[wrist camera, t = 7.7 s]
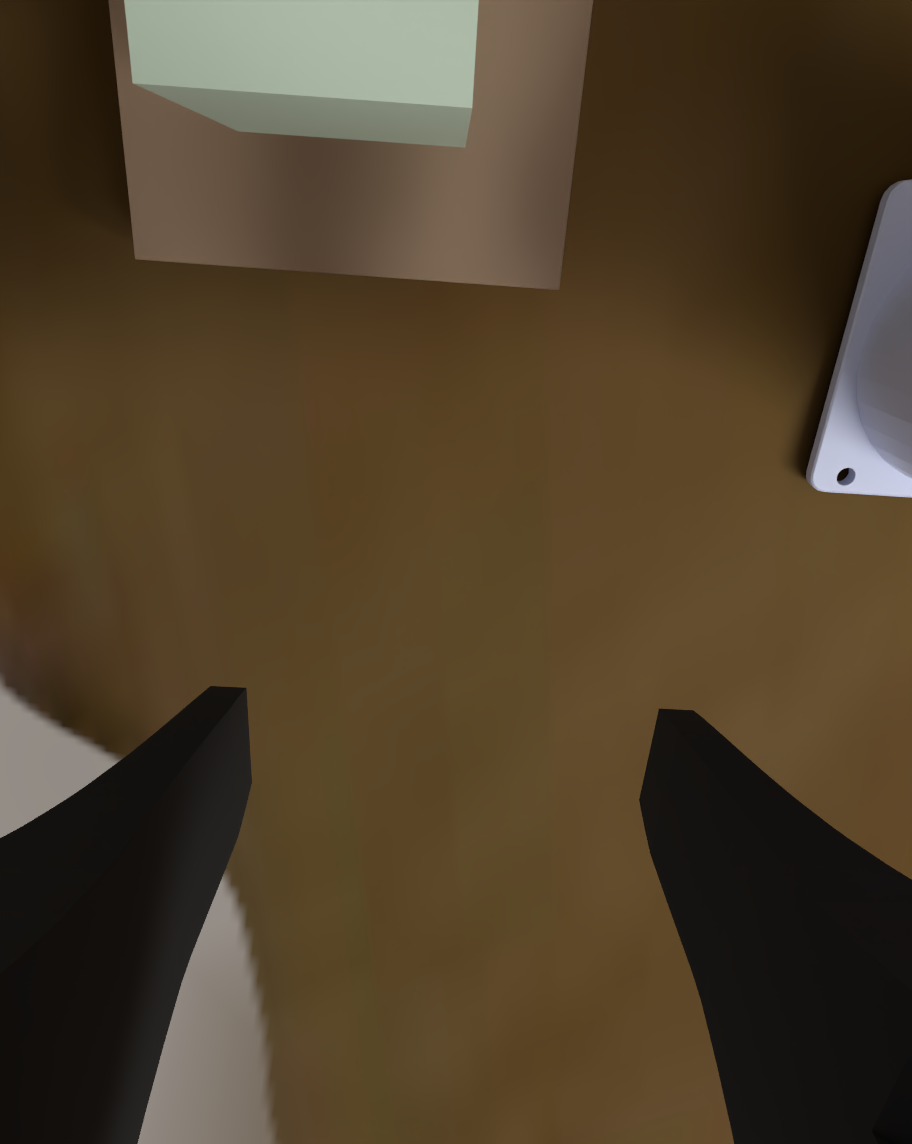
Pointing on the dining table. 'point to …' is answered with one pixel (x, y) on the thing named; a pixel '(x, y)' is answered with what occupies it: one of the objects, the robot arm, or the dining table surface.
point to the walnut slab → (375, 172)
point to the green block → (313, 65)
